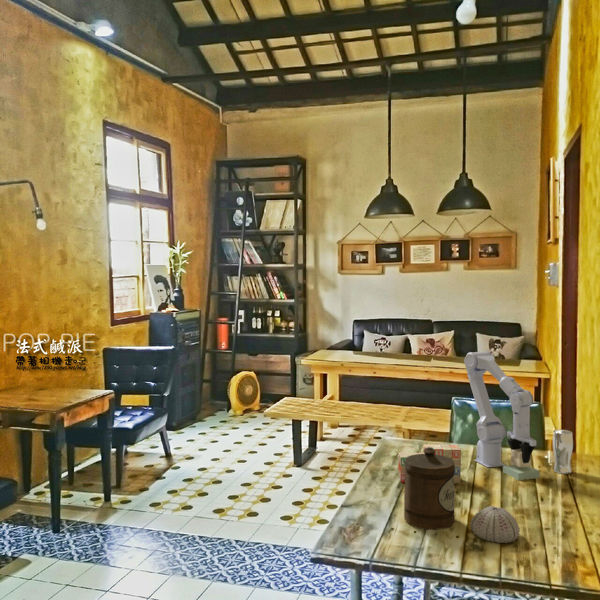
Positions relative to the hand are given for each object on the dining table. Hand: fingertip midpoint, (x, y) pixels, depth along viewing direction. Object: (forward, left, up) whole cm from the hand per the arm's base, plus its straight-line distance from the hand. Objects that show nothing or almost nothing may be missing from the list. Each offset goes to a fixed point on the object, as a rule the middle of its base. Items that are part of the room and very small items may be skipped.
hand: (521, 460), depth 226 cm
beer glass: (+1, +18, -6) cm, 18 cm away
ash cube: (0, 0, -2) cm, 2 cm away
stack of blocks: (-6, -35, -6) cm, 36 cm away
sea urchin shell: (+43, -40, -6) cm, 59 cm away
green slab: (0, 0, -6) cm, 6 cm away
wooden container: (+27, -52, -6) cm, 59 cm away
